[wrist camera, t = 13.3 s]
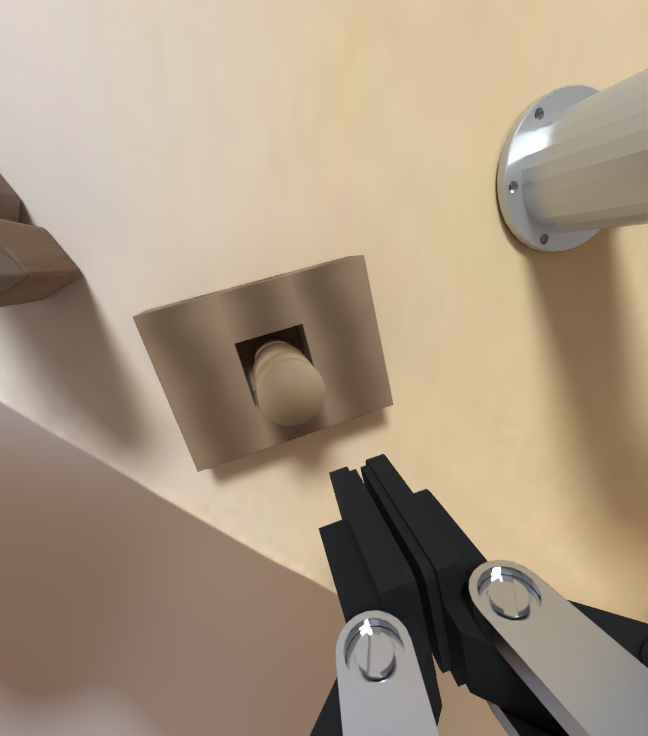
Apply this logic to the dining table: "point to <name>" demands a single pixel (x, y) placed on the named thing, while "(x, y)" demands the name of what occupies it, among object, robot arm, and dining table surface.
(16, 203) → the brown jointed angular part
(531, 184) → the robot arm
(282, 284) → the board
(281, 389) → the peg
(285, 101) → the dining table surface
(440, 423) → the dining table surface
